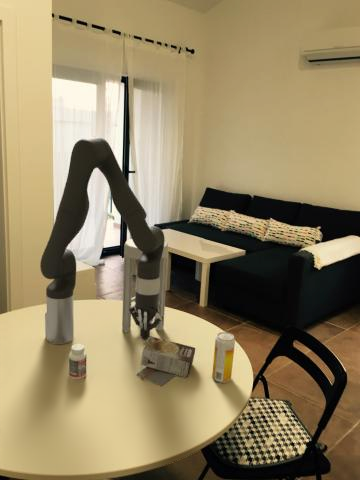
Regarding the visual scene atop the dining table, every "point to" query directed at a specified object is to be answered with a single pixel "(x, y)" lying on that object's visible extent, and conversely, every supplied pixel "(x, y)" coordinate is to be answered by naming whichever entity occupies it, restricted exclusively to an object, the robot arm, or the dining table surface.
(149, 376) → the mat
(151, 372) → the kerb
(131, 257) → the stool
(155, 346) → the coffee box
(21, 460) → the dining table surface
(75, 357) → the pill bottle
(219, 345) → the beer can
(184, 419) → the dining table surface
